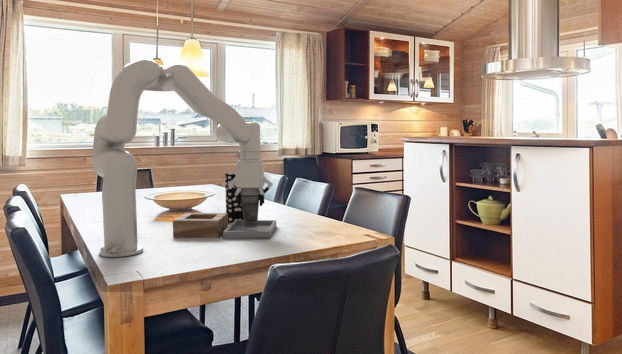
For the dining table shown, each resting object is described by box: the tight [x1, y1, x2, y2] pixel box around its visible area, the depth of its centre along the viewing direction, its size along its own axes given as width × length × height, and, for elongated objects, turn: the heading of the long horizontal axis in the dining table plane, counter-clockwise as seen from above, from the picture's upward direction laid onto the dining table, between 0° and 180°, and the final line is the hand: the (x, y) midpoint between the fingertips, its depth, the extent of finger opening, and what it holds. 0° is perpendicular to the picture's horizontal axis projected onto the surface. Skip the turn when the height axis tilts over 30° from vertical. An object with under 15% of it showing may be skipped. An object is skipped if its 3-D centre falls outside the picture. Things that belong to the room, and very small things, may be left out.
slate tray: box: [222, 219, 277, 240], centre depth 181 cm, size 22×16×2 cm
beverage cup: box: [240, 188, 260, 228], centre depth 180 cm, size 7×7×20 cm
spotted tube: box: [224, 172, 244, 226], centre depth 200 cm, size 8×8×20 cm
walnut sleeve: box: [172, 212, 229, 239], centre depth 181 cm, size 16×16×6 cm
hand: (250, 205), depth 180 cm, fingers closed on beverage cup, 7 cm apart
